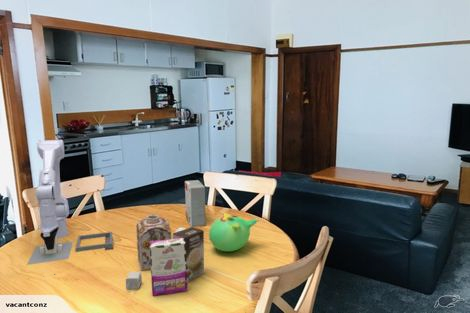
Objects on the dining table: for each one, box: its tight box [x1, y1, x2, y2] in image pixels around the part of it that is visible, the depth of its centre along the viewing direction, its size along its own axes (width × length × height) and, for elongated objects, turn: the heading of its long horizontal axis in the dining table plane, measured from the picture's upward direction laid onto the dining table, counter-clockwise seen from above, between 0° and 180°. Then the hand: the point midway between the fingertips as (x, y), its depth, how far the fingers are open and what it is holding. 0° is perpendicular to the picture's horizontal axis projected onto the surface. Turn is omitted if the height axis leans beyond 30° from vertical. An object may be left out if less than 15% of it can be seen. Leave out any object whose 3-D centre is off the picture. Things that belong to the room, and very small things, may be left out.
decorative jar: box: [136, 214, 173, 272], centre depth 130 cm, size 12×12×18 cm
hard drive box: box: [184, 179, 207, 228], centre depth 175 cm, size 16×8×20 cm, turn 17°
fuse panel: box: [26, 241, 74, 266], centre depth 138 cm, size 18×14×4 cm
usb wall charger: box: [125, 271, 143, 291], centre depth 113 cm, size 4×7×4 cm, turn 2°
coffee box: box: [172, 226, 205, 283], centre depth 120 cm, size 9×6×16 cm
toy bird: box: [208, 212, 259, 252], centre depth 142 cm, size 18×17×15 cm
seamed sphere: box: [174, 226, 187, 233], centre depth 149 cm, size 10×7×7 cm
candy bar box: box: [150, 238, 188, 297], centre depth 111 cm, size 11×5×16 cm, turn 105°
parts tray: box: [75, 231, 114, 253], centre depth 148 cm, size 14×14×2 cm
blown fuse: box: [43, 234, 58, 254], centre depth 138 cm, size 3×4×7 cm
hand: (51, 247), depth 138 cm, fingers closed on blown fuse, 3 cm apart
